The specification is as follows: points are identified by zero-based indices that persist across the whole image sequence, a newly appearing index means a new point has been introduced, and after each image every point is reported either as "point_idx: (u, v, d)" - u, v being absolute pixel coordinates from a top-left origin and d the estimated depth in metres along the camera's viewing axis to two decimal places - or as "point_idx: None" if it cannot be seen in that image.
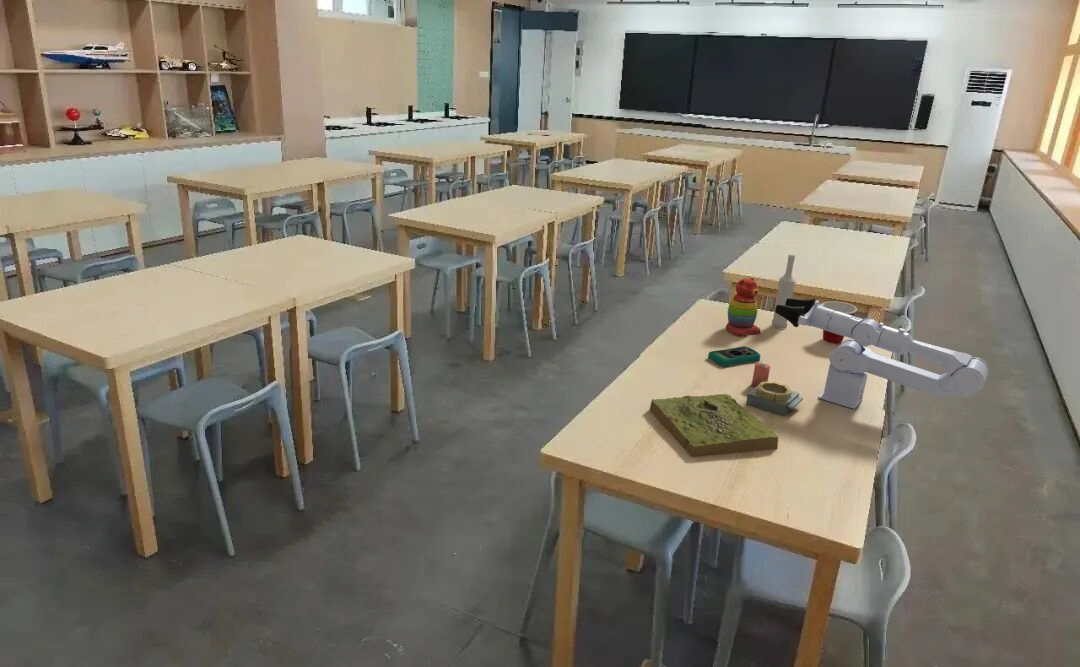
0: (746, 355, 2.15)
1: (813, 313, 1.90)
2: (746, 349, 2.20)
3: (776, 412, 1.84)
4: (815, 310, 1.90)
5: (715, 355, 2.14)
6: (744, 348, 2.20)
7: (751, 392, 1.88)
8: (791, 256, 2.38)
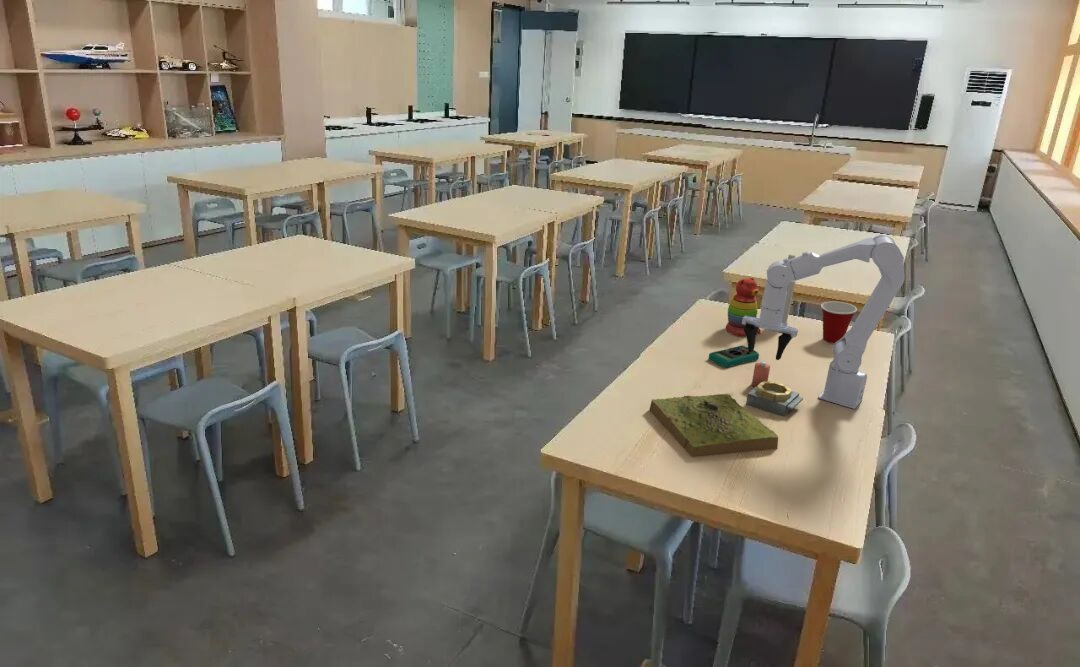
0: (746, 355, 2.15)
1: (777, 326, 1.91)
2: (744, 348, 2.20)
3: (776, 412, 1.84)
4: (774, 325, 1.91)
5: (717, 356, 2.13)
6: (742, 347, 2.21)
7: (751, 392, 1.88)
8: (791, 256, 2.38)
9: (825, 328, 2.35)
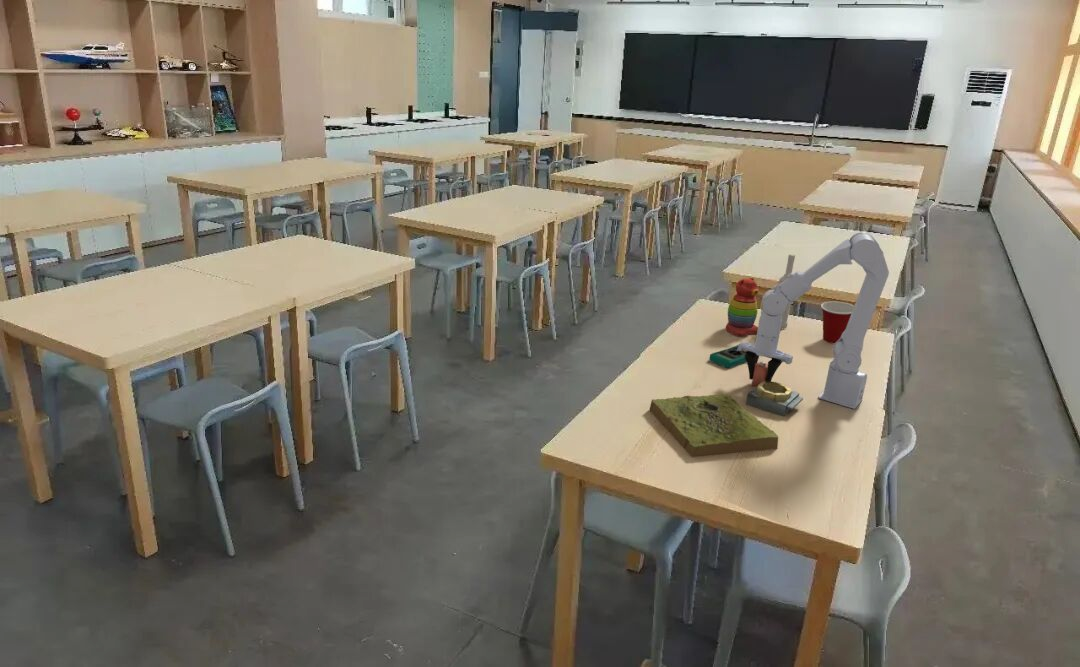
0: None
1: (772, 352, 1.94)
2: None
3: (776, 412, 1.84)
4: (769, 352, 1.94)
5: (718, 357, 2.12)
6: None
7: (751, 392, 1.88)
8: (791, 256, 2.38)
9: (825, 328, 2.35)
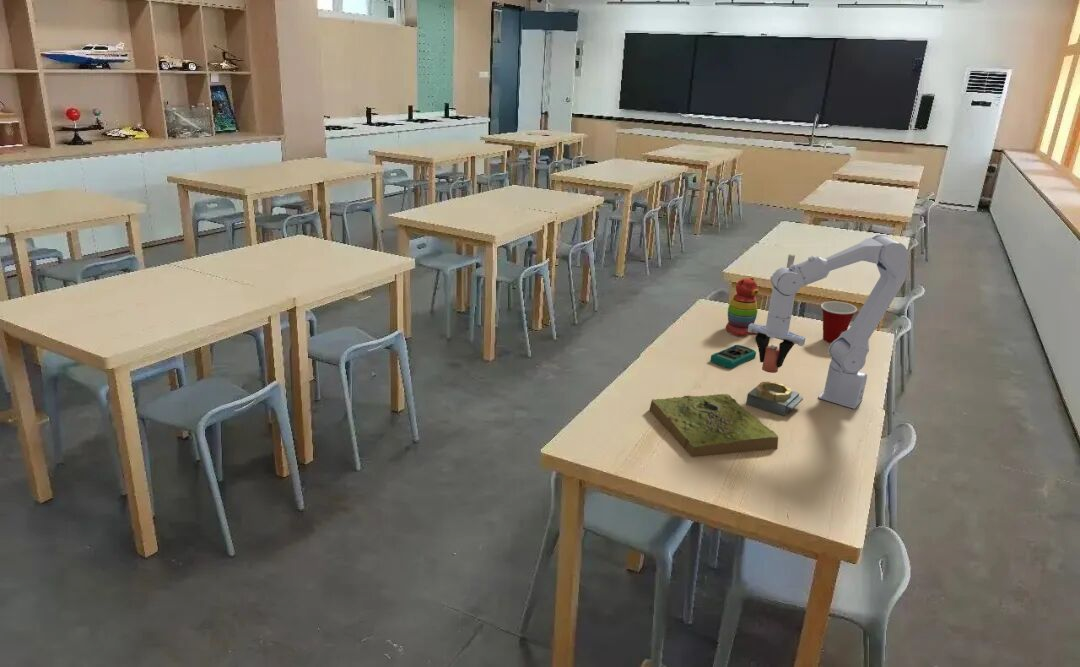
0: (745, 354, 2.16)
1: (784, 334, 1.86)
2: (739, 347, 2.21)
3: (776, 412, 1.84)
4: (781, 333, 1.86)
5: (720, 358, 2.12)
6: (737, 347, 2.21)
7: (751, 392, 1.88)
8: (791, 256, 2.38)
9: (825, 328, 2.35)
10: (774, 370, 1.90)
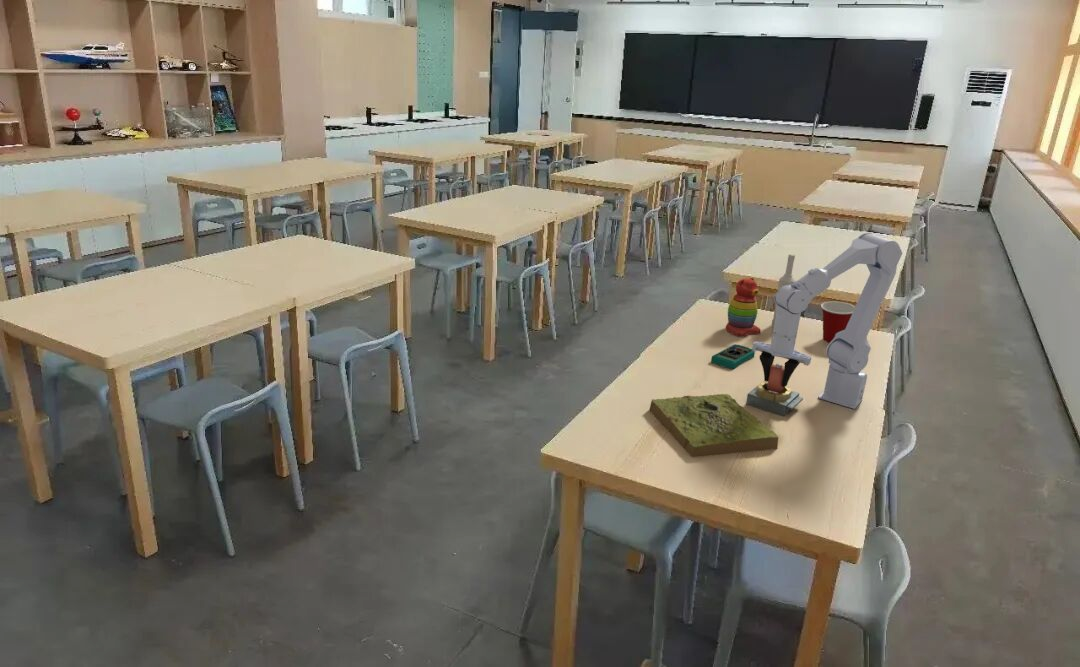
0: (745, 354, 2.16)
1: (790, 353, 1.82)
2: (738, 347, 2.21)
3: (776, 412, 1.84)
4: (786, 352, 1.81)
5: (721, 358, 2.12)
6: (736, 346, 2.21)
7: (751, 392, 1.88)
8: (791, 256, 2.38)
9: (825, 328, 2.35)
10: (779, 389, 1.86)
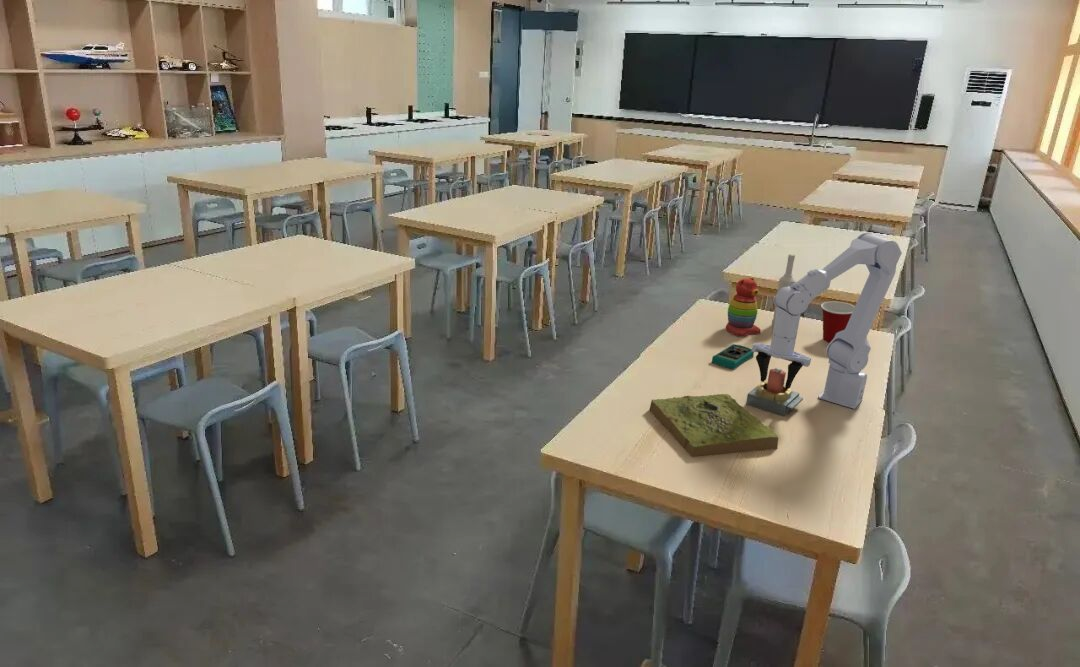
0: (745, 354, 2.16)
1: (789, 354, 1.82)
2: (737, 346, 2.21)
3: (776, 412, 1.84)
4: (786, 354, 1.81)
5: (722, 358, 2.11)
6: (735, 346, 2.22)
7: (751, 392, 1.88)
8: (791, 256, 2.38)
9: (825, 328, 2.35)
10: None
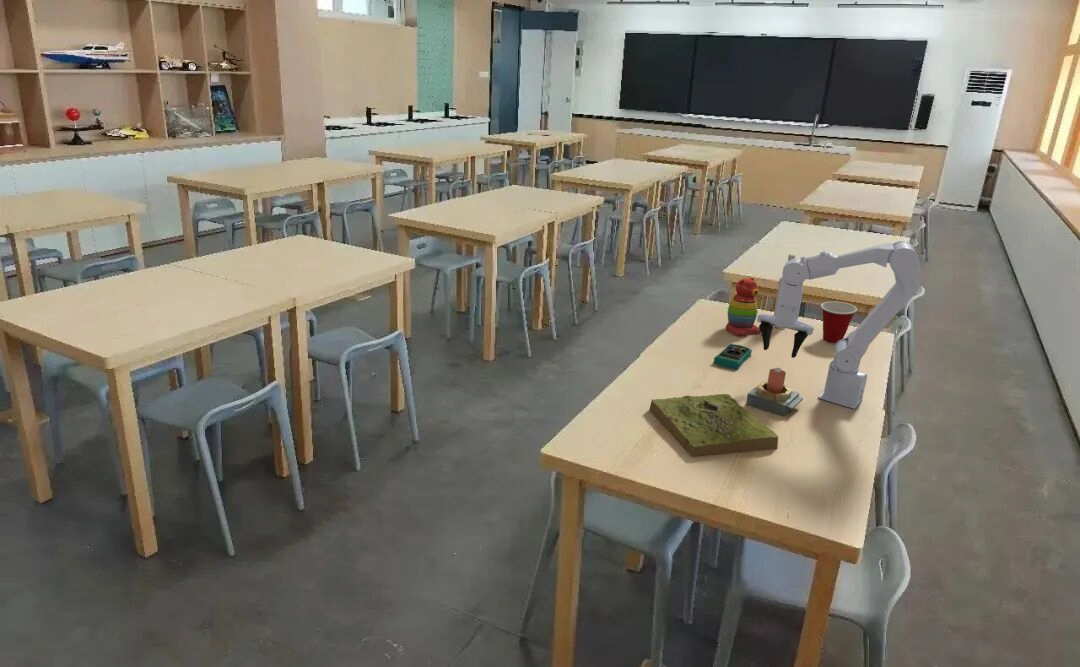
0: (744, 353, 2.16)
1: (793, 323, 1.91)
2: (734, 346, 2.22)
3: (776, 412, 1.84)
4: (790, 323, 1.91)
5: (724, 359, 2.11)
6: (732, 346, 2.22)
7: (751, 392, 1.88)
8: (791, 256, 2.38)
9: (825, 328, 2.35)
10: None
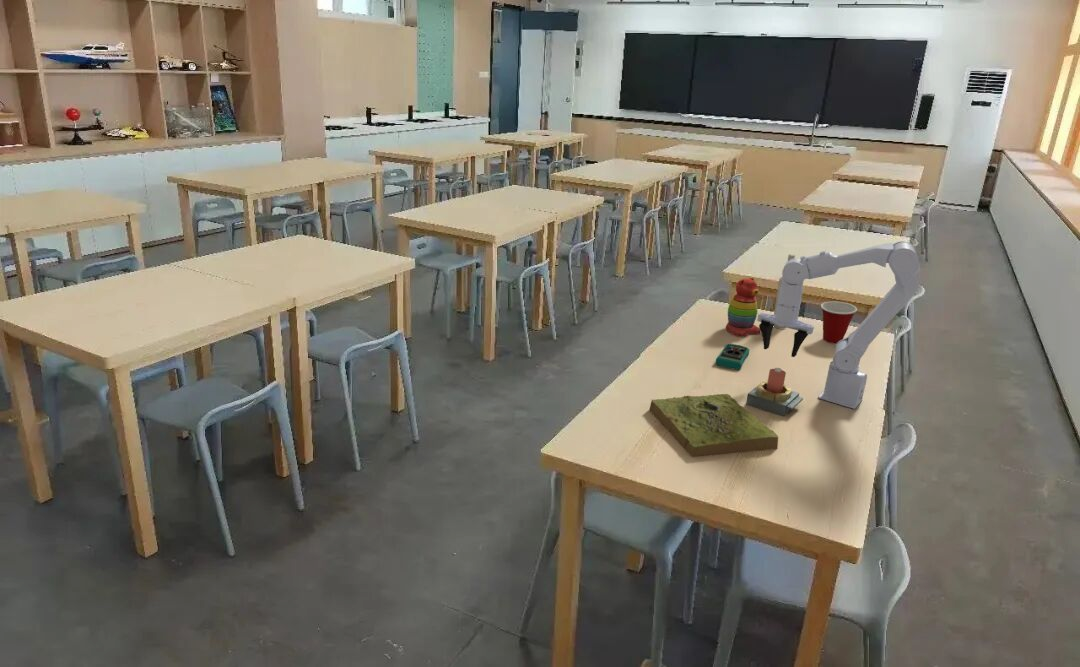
0: (744, 353, 2.17)
1: (793, 322, 1.91)
2: (732, 346, 2.22)
3: (776, 412, 1.84)
4: (790, 322, 1.91)
5: (727, 360, 2.10)
6: (730, 346, 2.22)
7: (751, 392, 1.88)
8: (791, 256, 2.38)
9: (825, 328, 2.35)
10: None
